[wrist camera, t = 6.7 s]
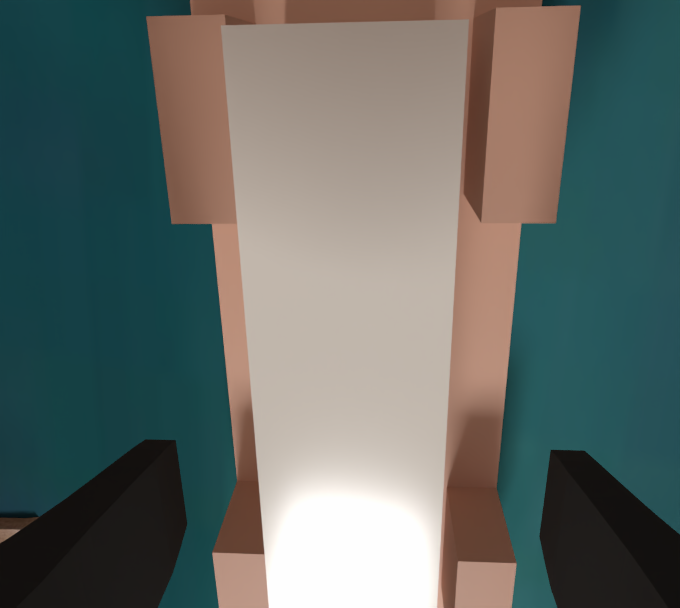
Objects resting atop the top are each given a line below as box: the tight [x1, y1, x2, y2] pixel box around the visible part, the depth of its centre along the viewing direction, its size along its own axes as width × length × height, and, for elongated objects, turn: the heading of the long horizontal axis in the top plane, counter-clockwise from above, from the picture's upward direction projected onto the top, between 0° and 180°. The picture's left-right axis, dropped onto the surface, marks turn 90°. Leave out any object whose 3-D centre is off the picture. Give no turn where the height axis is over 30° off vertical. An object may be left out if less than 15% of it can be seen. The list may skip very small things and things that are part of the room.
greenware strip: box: [221, 19, 469, 608], centre depth 14 cm, size 4×16×6 cm, turn 1°
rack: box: [146, 0, 581, 608], centre depth 16 cm, size 8×19×4 cm, turn 1°
